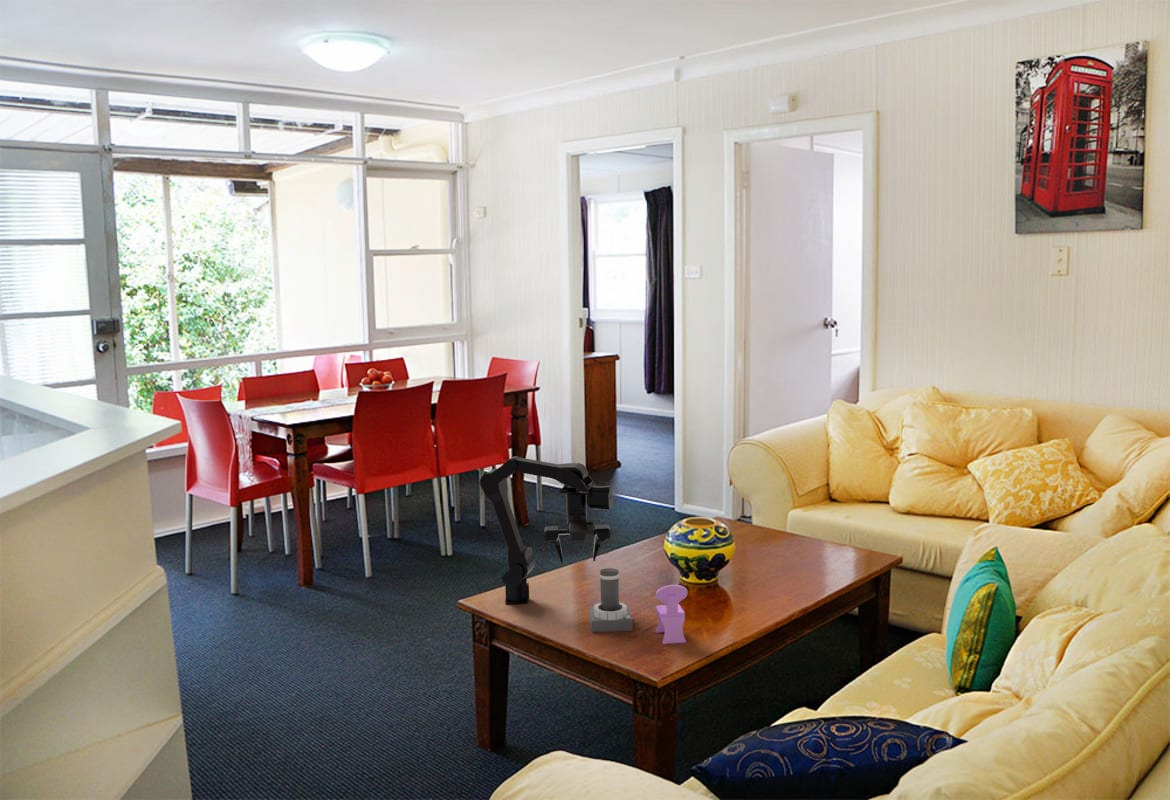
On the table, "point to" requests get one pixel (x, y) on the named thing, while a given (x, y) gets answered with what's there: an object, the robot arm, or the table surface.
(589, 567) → the table surface
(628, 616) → the ringed square flange
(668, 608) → the toy chair
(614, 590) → the grey domed cylinder
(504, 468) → the robot arm
